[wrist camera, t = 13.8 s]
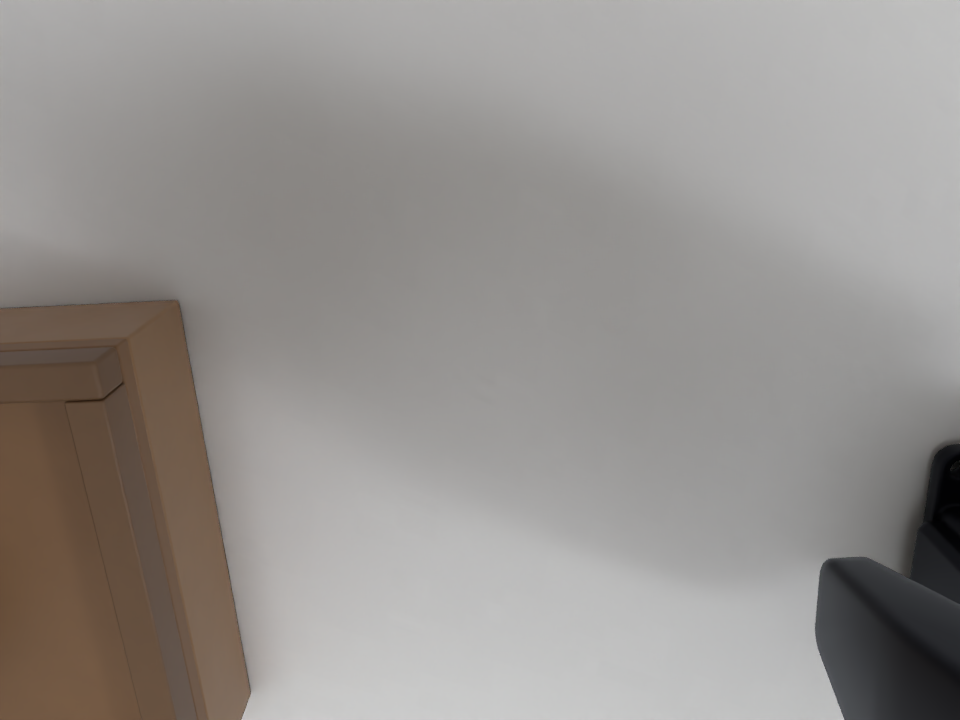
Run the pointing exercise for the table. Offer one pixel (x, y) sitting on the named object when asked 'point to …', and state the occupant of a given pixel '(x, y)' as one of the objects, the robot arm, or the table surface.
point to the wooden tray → (109, 523)
